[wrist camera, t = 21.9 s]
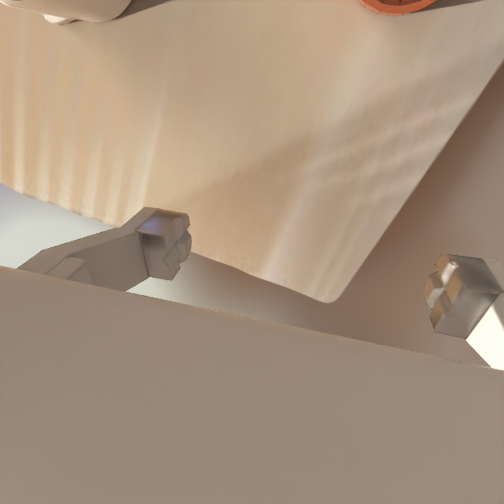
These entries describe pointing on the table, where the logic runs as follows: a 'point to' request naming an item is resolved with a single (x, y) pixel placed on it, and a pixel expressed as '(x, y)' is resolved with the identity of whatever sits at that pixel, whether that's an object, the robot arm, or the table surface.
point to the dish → (395, 6)
